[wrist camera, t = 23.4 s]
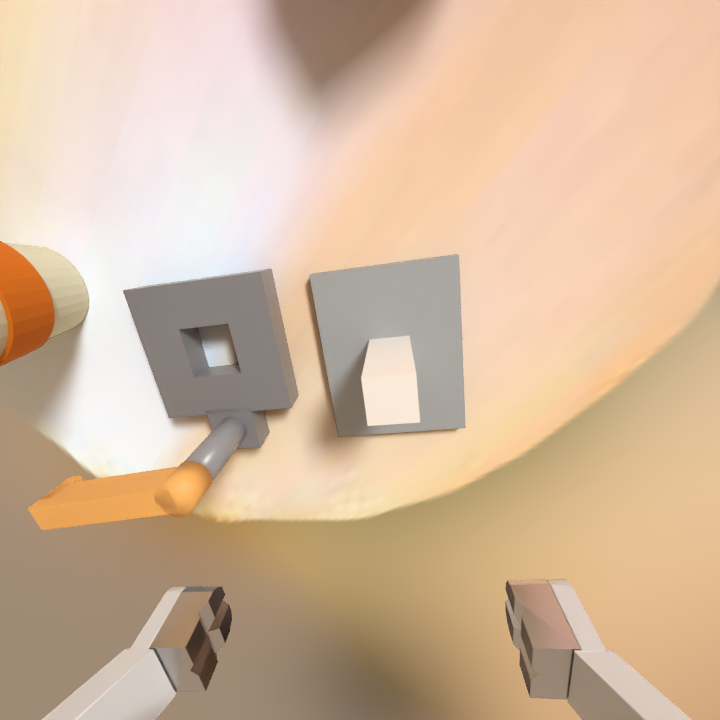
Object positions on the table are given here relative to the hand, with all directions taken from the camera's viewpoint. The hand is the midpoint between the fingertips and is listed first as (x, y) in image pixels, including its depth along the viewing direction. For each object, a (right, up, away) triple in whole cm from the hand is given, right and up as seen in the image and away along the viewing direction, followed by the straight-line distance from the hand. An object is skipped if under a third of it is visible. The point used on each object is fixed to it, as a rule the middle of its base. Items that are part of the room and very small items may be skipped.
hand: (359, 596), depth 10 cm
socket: (-14, +6, +28) cm, 32 cm away
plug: (+3, +7, +25) cm, 26 cm away
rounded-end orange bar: (-20, -4, +22) cm, 30 cm away
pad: (+3, +8, +26) cm, 27 cm away
